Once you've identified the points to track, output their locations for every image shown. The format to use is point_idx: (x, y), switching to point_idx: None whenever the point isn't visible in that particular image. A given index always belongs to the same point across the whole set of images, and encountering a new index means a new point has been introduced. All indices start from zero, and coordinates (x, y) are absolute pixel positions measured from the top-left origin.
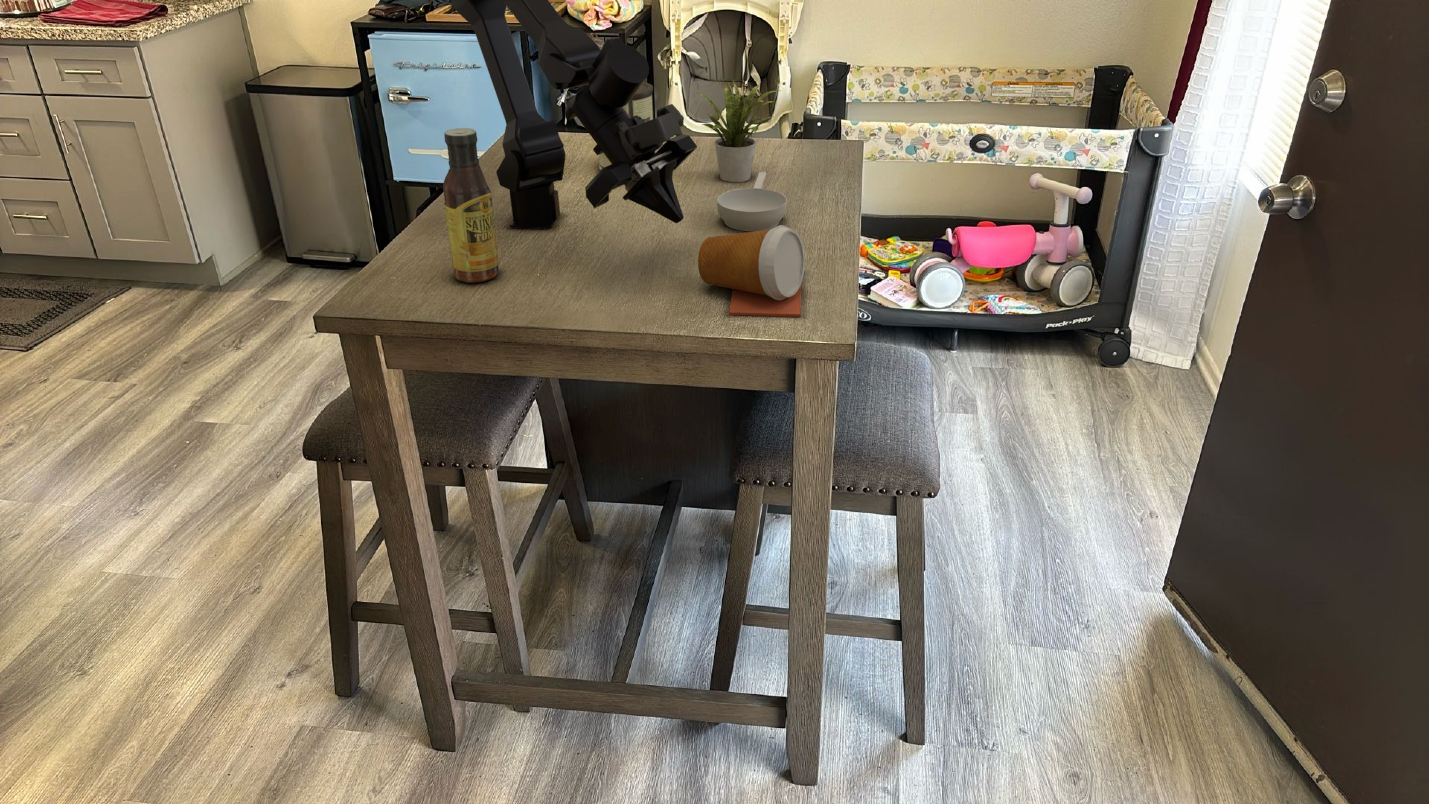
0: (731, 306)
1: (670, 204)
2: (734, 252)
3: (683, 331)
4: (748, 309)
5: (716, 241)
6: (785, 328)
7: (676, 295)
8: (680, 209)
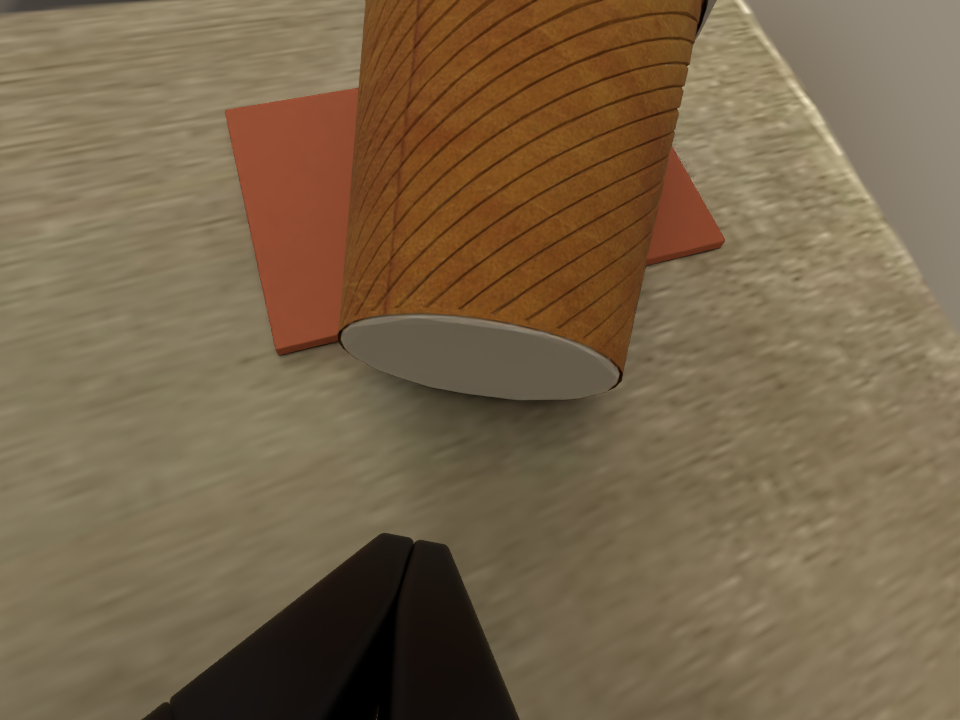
0: (677, 246)
1: (475, 669)
2: (662, 97)
3: (938, 354)
4: (668, 186)
5: (570, 217)
6: (707, 74)
7: (663, 522)
8: (348, 573)
